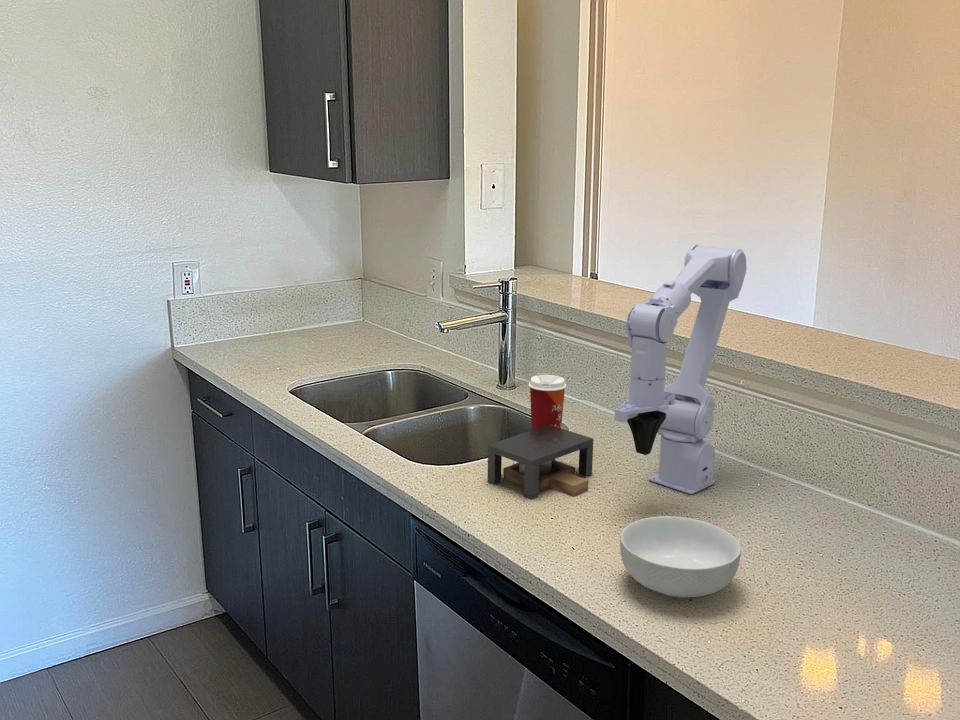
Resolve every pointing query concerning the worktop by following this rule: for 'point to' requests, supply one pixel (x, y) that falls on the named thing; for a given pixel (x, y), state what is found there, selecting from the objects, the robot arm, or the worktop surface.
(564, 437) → the riser
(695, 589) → the cereal bowl
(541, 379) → the paper cup
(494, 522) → the worktop surface
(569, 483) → the tray
